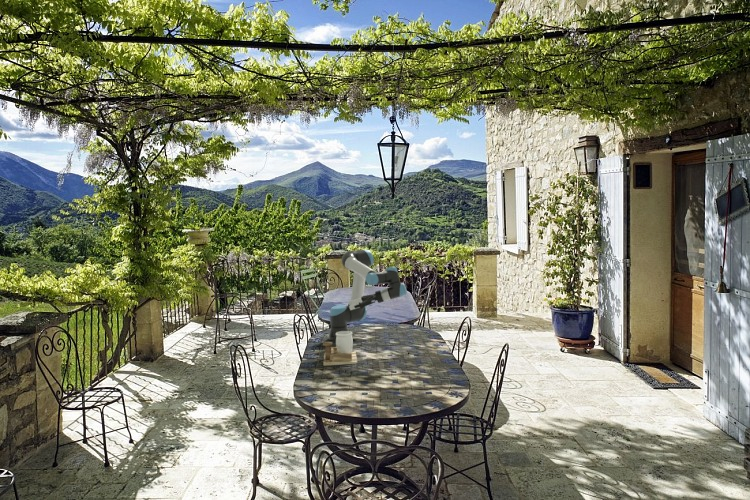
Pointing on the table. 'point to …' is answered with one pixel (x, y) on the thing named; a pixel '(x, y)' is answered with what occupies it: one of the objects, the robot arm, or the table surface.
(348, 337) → the jar
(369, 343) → the table surface
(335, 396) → the table surface
